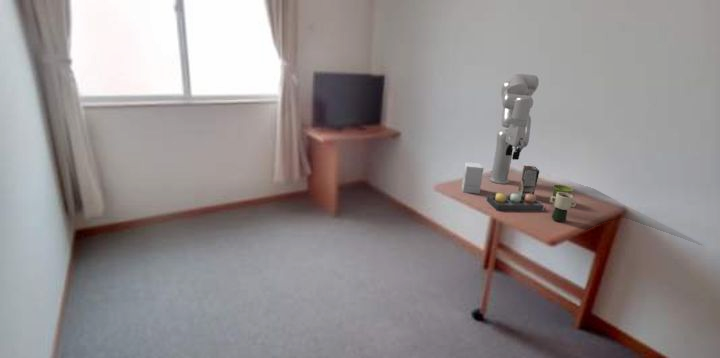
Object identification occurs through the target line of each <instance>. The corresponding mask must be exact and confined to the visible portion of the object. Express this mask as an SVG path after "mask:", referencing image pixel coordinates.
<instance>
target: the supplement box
mask: <svg viewBox="0 0 720 358" xmlns="http://www.w3.org/2000/svg"><path fill="white" fill-rule="evenodd" d="M483 173H484V166H483V165H482V163H477V162H470V161H469V162H467V161H466V162H465V163H464V169H463V176H462V182H461V190H462V192H463V193H471V194H478V195H480V191H481V185H482V179H483Z"/></svg>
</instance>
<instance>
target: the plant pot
mask: <svg viewBox="0 0 720 358" xmlns="http://www.w3.org/2000/svg"><path fill="white" fill-rule="evenodd" d="M552 190H553V193H552V196H553V197H556V194H557V193H558V192H564V193H568V194H572V193H571V192H573V188H572V187H571V186H568V185H563V184H553V185H552ZM553 201H555V199H553Z"/></svg>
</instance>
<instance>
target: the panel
mask: <svg viewBox="0 0 720 358" xmlns="http://www.w3.org/2000/svg"><path fill="white" fill-rule="evenodd" d="M495 197H496V195H487V197H486V202H488V204H490V205H491V206H492V207H493V209H495V210H496V211H497V212H498V211H501V212H503V211H506V212H507V211H511V212H512V211H513V212H528V211H529V212H543V211H544V204H542V203H541V202H539V201H538V200H537V199H536V200H535V203H527V202H525V201H524V200H525V196H522V197H521V201H520V203H512V202H511V201H510V197H511V195H507V196H506V201H505V203H497V202H496V201H495Z"/></svg>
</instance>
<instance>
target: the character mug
mask: <svg viewBox="0 0 720 358" xmlns="http://www.w3.org/2000/svg"><path fill="white" fill-rule="evenodd" d="M553 199H555V201H553ZM577 202H578V201H577V200H576V199H574V196H573V195H572V193H570V194H568V193H564V192H558V193H557V194H556V197H553V195H552V196H550V200H549V203H551V204H553V207H555V208H554V209H553V212H552V214H551V218H552V219H553V220H554V221H557V222H562V223H564V222H566V221H567V215H568V214H567V213H568V210H570V209H571V207H573V208H575V207H576V205H577ZM572 203H573V204H572Z"/></svg>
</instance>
